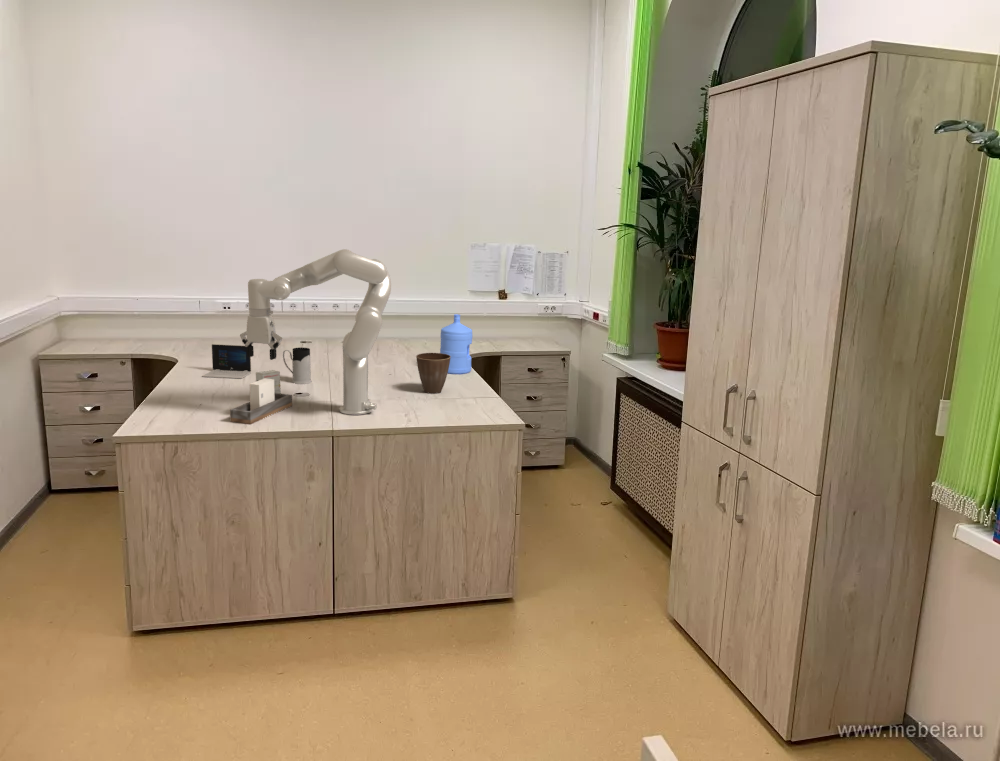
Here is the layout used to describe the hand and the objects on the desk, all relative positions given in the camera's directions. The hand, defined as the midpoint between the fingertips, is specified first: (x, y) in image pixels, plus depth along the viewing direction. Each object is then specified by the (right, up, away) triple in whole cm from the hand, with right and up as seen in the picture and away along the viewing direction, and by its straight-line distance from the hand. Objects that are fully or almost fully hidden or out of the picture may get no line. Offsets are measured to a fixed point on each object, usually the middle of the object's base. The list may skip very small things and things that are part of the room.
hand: (261, 357), depth 286 cm
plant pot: (+60, -14, +49) cm, 78 cm away
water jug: (+67, -4, +91) cm, 114 cm away
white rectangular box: (-1, -20, +5) cm, 20 cm away
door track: (-1, -21, +5) cm, 22 cm away
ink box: (-5, -17, +24) cm, 30 cm away
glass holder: (-2, -9, +57) cm, 58 cm away
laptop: (-35, -6, +63) cm, 72 cm away
